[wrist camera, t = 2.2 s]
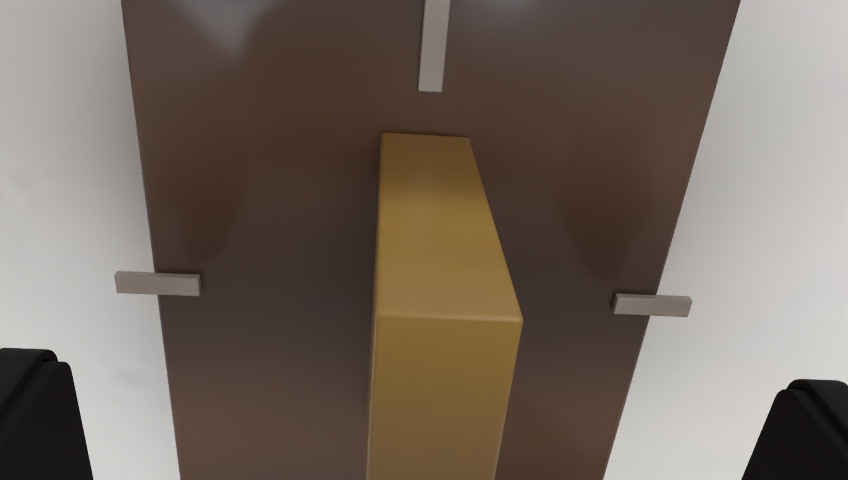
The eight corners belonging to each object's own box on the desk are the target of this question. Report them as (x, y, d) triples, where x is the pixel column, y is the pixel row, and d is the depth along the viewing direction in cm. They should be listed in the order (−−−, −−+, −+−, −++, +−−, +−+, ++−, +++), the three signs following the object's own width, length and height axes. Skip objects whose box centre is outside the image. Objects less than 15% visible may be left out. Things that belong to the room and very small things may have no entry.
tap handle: (381, 130, 11) (374, 326, 6) (470, 136, 11) (530, 332, 6) (366, 419, 13) (353, 703, 9) (435, 421, 14) (460, 702, 9)
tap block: (134, -113, 12) (53, -108, 9) (709, -63, 12) (802, -44, 10) (191, 418, 17) (152, 523, 14) (584, 429, 18) (619, 531, 15)
